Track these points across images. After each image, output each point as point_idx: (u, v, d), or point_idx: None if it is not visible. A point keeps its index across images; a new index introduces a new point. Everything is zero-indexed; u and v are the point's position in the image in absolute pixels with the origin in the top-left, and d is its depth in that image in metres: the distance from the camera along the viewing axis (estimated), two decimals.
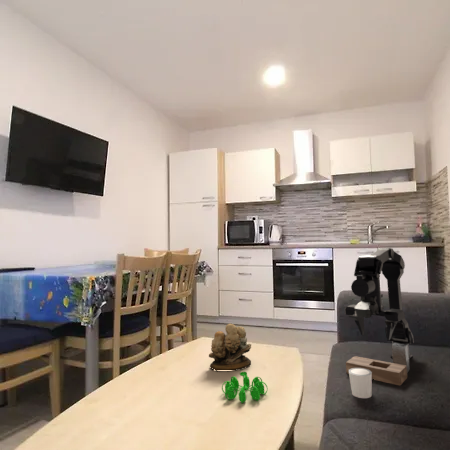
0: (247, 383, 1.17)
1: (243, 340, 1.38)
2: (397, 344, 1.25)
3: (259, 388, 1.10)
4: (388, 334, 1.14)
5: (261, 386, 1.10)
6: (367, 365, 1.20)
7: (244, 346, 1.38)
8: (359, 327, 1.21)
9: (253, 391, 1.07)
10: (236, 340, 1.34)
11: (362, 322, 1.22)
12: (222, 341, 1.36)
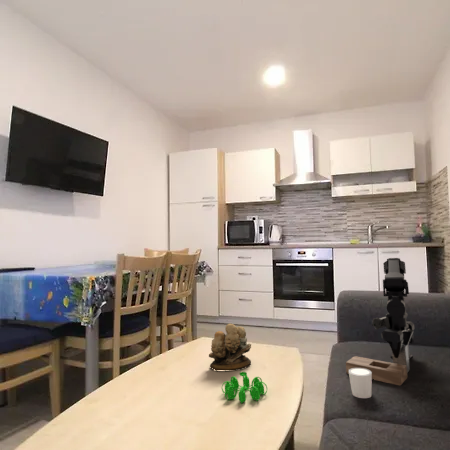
0: (247, 383, 1.16)
1: (243, 340, 1.38)
2: None
3: (259, 388, 1.10)
4: None
5: (261, 386, 1.10)
6: (367, 365, 1.20)
7: (244, 346, 1.38)
8: None
9: (253, 391, 1.07)
10: (236, 340, 1.34)
11: (405, 339, 1.28)
12: (222, 341, 1.36)
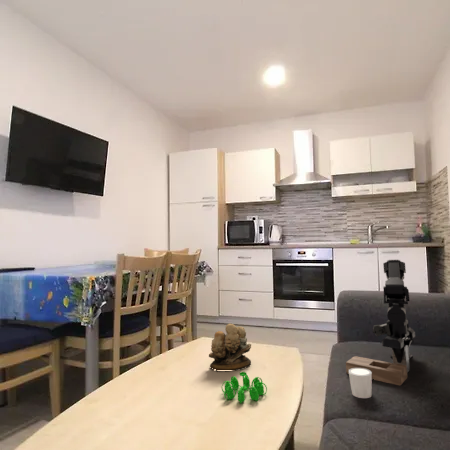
0: (247, 383, 1.16)
1: (243, 340, 1.38)
2: None
3: (258, 389, 1.10)
4: None
5: (260, 387, 1.10)
6: (367, 365, 1.20)
7: (244, 346, 1.38)
8: None
9: (252, 392, 1.07)
10: (236, 340, 1.34)
11: None
12: (222, 341, 1.36)
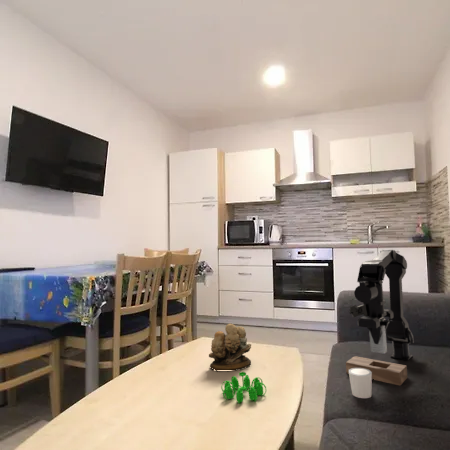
0: (247, 383, 1.16)
1: (243, 340, 1.38)
2: None
3: (258, 389, 1.10)
4: None
5: (260, 387, 1.10)
6: (367, 365, 1.20)
7: (244, 346, 1.38)
8: None
9: (250, 392, 1.07)
10: (236, 340, 1.34)
11: None
12: (222, 341, 1.36)
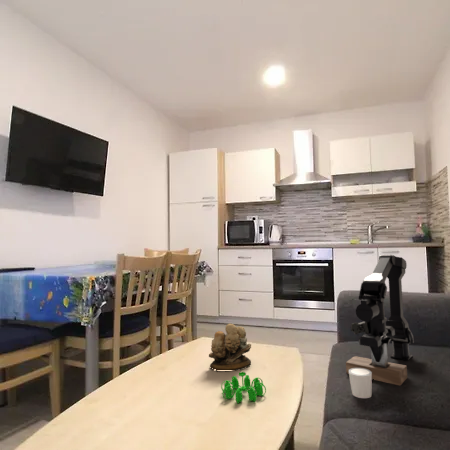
0: (247, 383, 1.16)
1: (243, 340, 1.38)
2: None
3: (257, 389, 1.10)
4: None
5: (259, 387, 1.10)
6: (367, 365, 1.20)
7: (244, 346, 1.38)
8: None
9: (250, 392, 1.07)
10: (236, 340, 1.34)
11: None
12: (222, 341, 1.36)
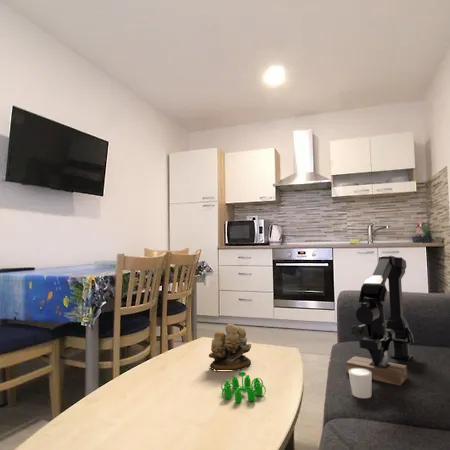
0: (248, 383, 1.16)
1: (243, 340, 1.38)
2: None
3: (257, 389, 1.10)
4: None
5: (259, 388, 1.09)
6: (367, 365, 1.20)
7: (244, 346, 1.38)
8: None
9: (249, 392, 1.07)
10: (236, 340, 1.34)
11: (384, 348, 1.22)
12: (222, 341, 1.36)
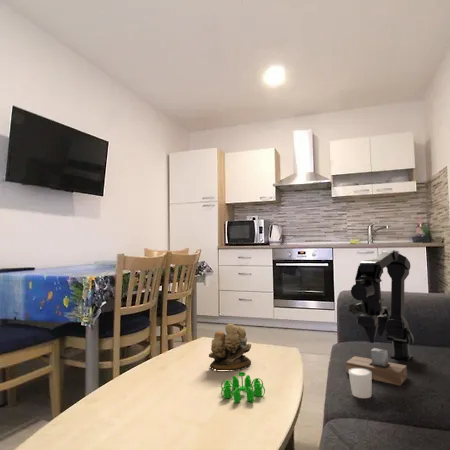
0: (248, 384, 1.16)
1: (243, 340, 1.38)
2: (376, 349, 1.20)
3: (256, 390, 1.09)
4: None
5: (258, 388, 1.09)
6: (367, 365, 1.20)
7: (244, 346, 1.38)
8: None
9: (248, 392, 1.06)
10: (236, 340, 1.34)
11: (382, 324, 1.27)
12: (222, 341, 1.36)
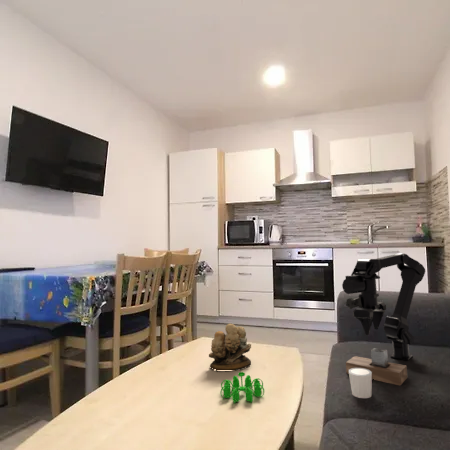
0: (248, 384, 1.16)
1: (243, 340, 1.38)
2: (376, 349, 1.21)
3: (255, 390, 1.09)
4: None
5: (257, 388, 1.09)
6: (367, 365, 1.20)
7: (244, 346, 1.38)
8: None
9: (246, 392, 1.06)
10: (236, 340, 1.34)
11: (377, 318, 1.35)
12: (222, 341, 1.36)
